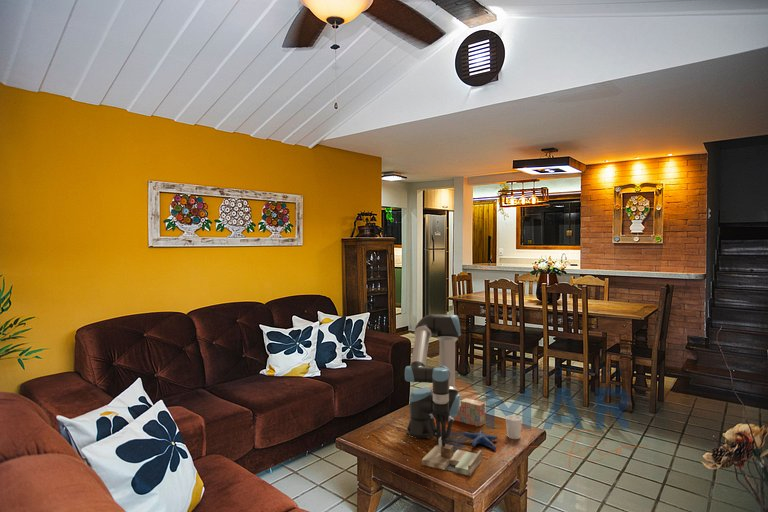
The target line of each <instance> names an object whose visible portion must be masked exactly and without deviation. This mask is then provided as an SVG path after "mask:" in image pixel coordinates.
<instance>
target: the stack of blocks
mask: <svg viewBox="0 0 768 512" xmlns="http://www.w3.org/2000/svg"><path fill="white" fill-rule="evenodd" d="M485 414H486V403H485V402H483V401H480V400H478V399H477V400H476V399H473V398H472V399H470V398H467V397H465V398H463V399H462V400H460V405H459V411H458V414H457V416H451V417H452V418H454V419H455V420H454V421H456V422H459V423H463V424H467V425H471V426H474V425H475V427H478V426H481V425H482V426H484V425H485V424H484V423H486V415H485ZM483 424H484V425H483ZM482 426H481V427H482Z"/></svg>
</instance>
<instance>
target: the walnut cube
mask: <svg viewBox="0 0 768 512" xmlns="http://www.w3.org/2000/svg"><path fill="white" fill-rule="evenodd" d="M454 453H455V452H454V445H453V444H448V443H446V444H445V446H442V447H441V457H443V458H447V459H451V458H452V456H453V455H454Z"/></svg>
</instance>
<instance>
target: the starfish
mask: <svg viewBox="0 0 768 512" xmlns="http://www.w3.org/2000/svg"><path fill="white" fill-rule="evenodd" d="M462 435H463V436H465V437H466V438H468V439H470V440H472V441H471V447H475V446H476V445H483V446H486V447H487V448H489V447H490V449H491V450H492V451H496V450H497V447H496V445H495V443H493V442H492V441H495V440H497V439H498V436H497V435H489V434H485V433H484V431H483V430H481V429H480V430H479V431H478V432H477V433H476V432H474V433H473V432H465V431H464V432H463V433H462Z"/></svg>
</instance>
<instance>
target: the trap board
mask: <svg viewBox="0 0 768 512" xmlns="http://www.w3.org/2000/svg"><path fill="white" fill-rule="evenodd" d="M482 460H483V451H482V450H481V449H479V450H478V452H477V453H475V452H471V451H466V450H463V449H462V450H461V449H457V450H455V452H454V455H453V456H452V458H451V459H447V458H443V457H441V453H439V445H437V444H436V445H435V446H433V448H432V449H431V450H429V452H428V453H426V454H425V456H423V458H422V459H421V465H422V466H427V467H430V468H435V469H439V470H442V471H443V470H444V471H448V472H452V473H457V474H459V475H460V474H461V475H465V476H469V477H471V476H472V475H473V473H474V472H475V470H476V469H477V468H478V466H479V465H480V464H481V462H482Z"/></svg>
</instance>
